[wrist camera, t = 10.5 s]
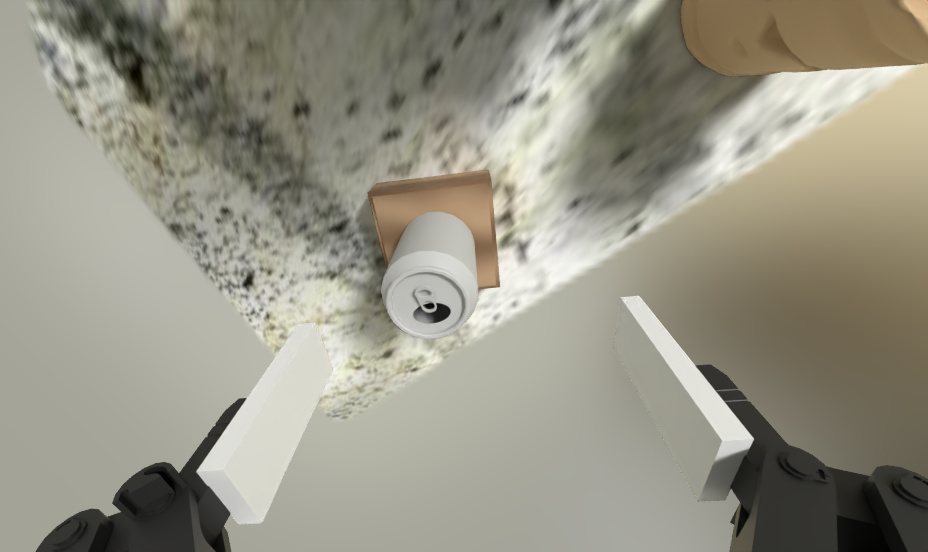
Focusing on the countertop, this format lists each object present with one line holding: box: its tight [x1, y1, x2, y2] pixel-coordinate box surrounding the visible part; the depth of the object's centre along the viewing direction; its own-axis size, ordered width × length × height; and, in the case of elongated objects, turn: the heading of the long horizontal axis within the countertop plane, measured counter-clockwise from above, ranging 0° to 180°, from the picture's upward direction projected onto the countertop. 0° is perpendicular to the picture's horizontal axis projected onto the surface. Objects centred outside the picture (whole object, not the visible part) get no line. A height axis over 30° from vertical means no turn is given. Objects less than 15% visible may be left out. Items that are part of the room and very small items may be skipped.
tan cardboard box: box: [368, 170, 500, 289], centre depth 38 cm, size 12×12×4 cm
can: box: [381, 212, 478, 339], centre depth 31 cm, size 8×8×12 cm
